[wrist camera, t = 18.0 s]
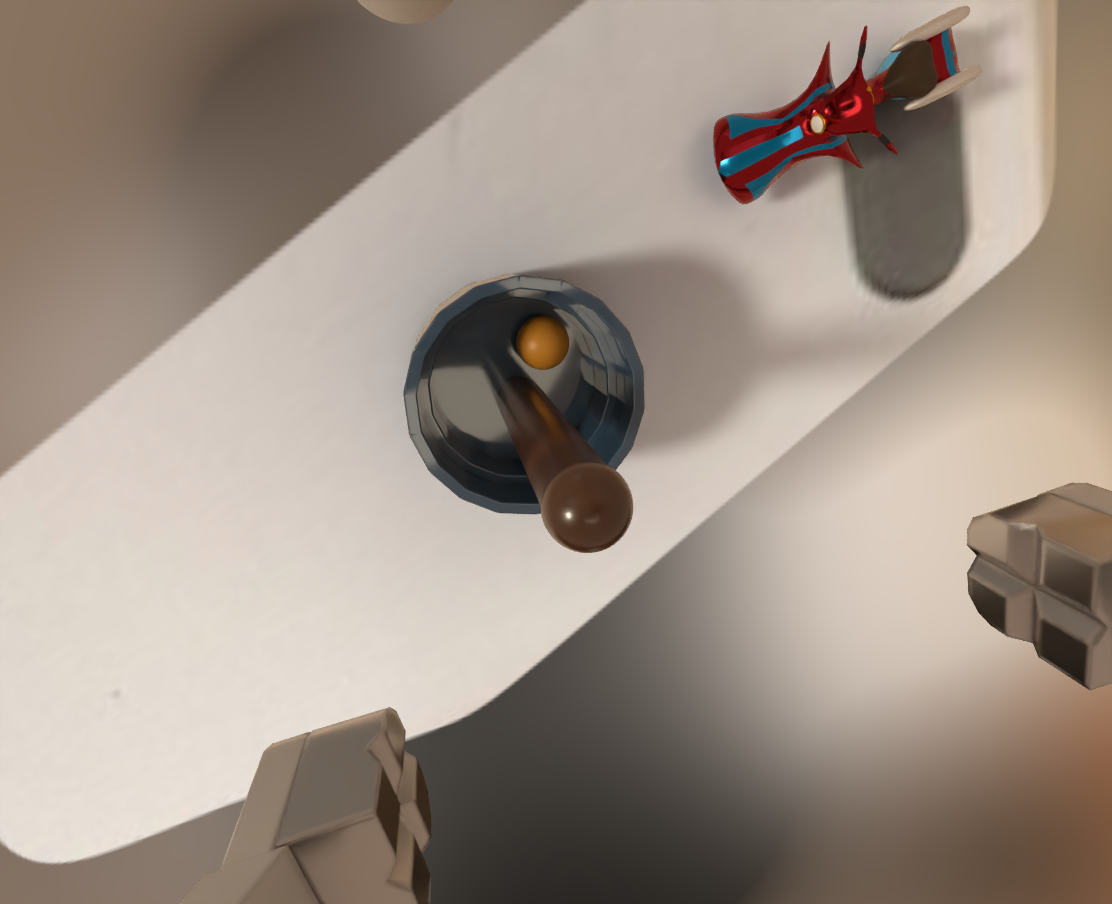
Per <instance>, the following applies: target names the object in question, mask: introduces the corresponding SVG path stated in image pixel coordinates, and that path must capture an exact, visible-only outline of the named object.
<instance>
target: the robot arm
mask: <svg viewBox="0 0 1112 904" xmlns="http://www.w3.org/2000/svg"><path fill="white" fill-rule="evenodd" d="M967 546H968V547H969V548H970V549H971V550H972V551H973V552H974V553H975V554H976V555H977V556H976V558H975V560H974V562H973V563H972V565H971V567H970V569H969V571H968V572H967V575H968V592H969V595H970V597H971V599H972V601H973V603H974V605H975V607H976V609H977V611H978V612H979V614H980V615H981V616H982V617H983V618H984V619H985V620H986V621H987V622H988V623H989V624H990V625H991V626H992V627H994V628H996V629H997V630H998V631H1000V632H1001V633H1003V634H1004V635H1006V636H1008V637H1011V638H1015V639H1019V640H1023V641H1028V642H1031V643H1033V644H1034V647H1035V649H1036V652H1037V654H1038V657H1039V658H1041V659H1042V660H1044V661H1045V662H1047V663H1049V664H1050V665H1052V666H1053V667H1055V668H1056V669H1058V670H1060V671H1061V672H1063V673H1064V674H1066V675H1067V676H1069V677H1070V678H1072V679H1073V680H1075V681H1076V682H1078V683H1079V684H1081V685H1082V686H1084V687H1086V688H1087V689H1089V690H1093V689H1096V688H1099V687H1102V686H1105V685H1108V684H1111V683H1112V491H1110V490H1107V489H1103V488H1101V487H1098V486H1095V485H1092V484H1088V483H1069V484H1067V485H1064V486H1061V487H1058V488H1055V489H1052V490H1050V491H1047V492H1044V493H1042V494H1039V495H1037V496H1036V497H1034V498H1031V499H1028V500H1025V501H1022V502H1019V503H1016V504H1013V505H1010V506H1007V507H1004V508H1000V509H997V510H995V511H991V512H988V513H985V514H982V515H979V516H976V517H973V518H972V520H971V523H970V525H969V527H968V529H967ZM404 746H405V729H404V727H403V725H402V722H401V720H400V718H399V716H398V714H397V711H395V710H394V709H392V708H391V707H389V708H386V709H382V710H379V711H376V712H373V713H369V714H366V715H363V716H359V717H356V718H353V719H349V720H346V721H343V722H339V723H336V724H333V725H330V726H326V727H323V728H320V729H316V730H313V731H312V732H308V733H304V734H301V735H298V736H295V737H292V738H288V739H285V740H282V741H279V742H276V743H273V744H271V745H270V746H269V747H268V748H267V749H266V750H265V751H264V752H263V754H262V757H261V759H260V762H259V765H258V768H257V770H256V773H255V776H254V779H253V781H252V784H251V787H250V789H249V792H248V795H247V798H246V800H245V803H244V806H243V808H242V811H241V814H240V817H239V820H238V822H237V825H236V828H235V830H234V833H233V836H232V839H231V841H230V844H229V847H228V849H227V852H226V855H225V858H224V860H223V863H222V866H221V868H218V869H215V870H213V871H210V872H207V873H206V874H205V875H204V876H203V877H202V878H201V879H200V880H199V882H198V883H197V884H196V885H195V886H194V887H193V888H192V889H191V890H190V892H189V893H188V894H187V895H186V896H185V897H184V898H183V899H182V900H181V901H180V903H179V904H430V876H431V874H430V871H429V869H428V867H427V864H426V862H425V860H424V857H423V855H422V853H423V851H424V849H425V848H426V846H427V844H428V843H429V841H430V839H431V813H430V805H429V799H428V791H427V787H426V784H425V780H424V777H423V773H422V770H421V768H420V765H419V763H418V760H417V758H415V757H414V756H412V755H410V754H408V753H406V752H405V751H404Z"/></svg>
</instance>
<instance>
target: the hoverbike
mask: <svg viewBox="0 0 1112 904" xmlns="http://www.w3.org/2000/svg"><path fill="white" fill-rule="evenodd" d="M969 12H970V8H969V7H968V6H962V7H958V8H956V9H953V10H951V11H949V12H947V13H945V14H943V15H941V16H939V17H937V18H935V19H933V20H931V21H929V22H927V23H926V24H924V25H922V26H920V27H918V28H916V29H915V30H913V31H911V32H909V33H908V34H906V35H905V36H903V37H902V38H900V39H899V40H898V41H897V42H896V43H895V44H894V45H893V46H892V47H891V48H890V52H893V53H891V54H890V55H889V56H888V57H887V58H886V59H885V60H884V62H883V63H882V65H881V67H880V69H879V72H878V75H876V76H874V77H872V78H870V79H868V80H867V81H865V79H864V77H863V73H862V68H861V67H862V59H863V56H864V52H865V47H866V40H867V26H865V27H864V30H863V33H862V36H861V40H860V46H859V52H858V59H857V63H856V67H855V68H854V70H853V71H852V73H851V74H850V76H849V77H848V79H847V80H846V81H845V82H843V83H842V84H841V85H840V86H839V87H838V88H837V89H835V86H834V83H833V79H832V74H831V65H830V42H828V44H827V46H826V49H825V52H824V55H823V57H822V60H821V63H820V65H819V68H818V70H817V72H816V74H815V77H814V78H813V80H812V81H811V83H810V85H809V86H808V88H807V89H806V90H805V91H804V92H803V93H802V94H801V95H800V96H799V97H798V98H797V99H795V100H794V101H792V102H791V103H789V104H787V105H785V106H783V107H780V108H777V109H774V110H771V111H768V112H762V113H737V114H730V115H727V116H725V117H722V118H721V119H719V120H718V121H717V122H716V123H715V126H714V157H715V163H716V167H717V170H718V173H719V176H720V178H721V180H722V182H723V184H724V185H725V187H726V188H727V190H728V191H729V192H730V194H731V195H732V196H733V197H734V198H735V199H736V200H737V201H738V202H739V203H741V204H748V203H751V202H753V201H755V200H756V199H758V198H759V197H760V196H761V195H763V194H764V192H765V191H766V190H767V189H768V188H769V187H770V186H771V184H772V183H773V182H774V181H775V180H776V179H777V178H779V177H780V176H781V175H782V174H783V173H785V172H786V171H787V170H789V169H791V168H792V167H794V166H795V165H797V164H799V163H801V162H803V161H805V160H808V159H811V158H813V157H819V156H832V157H838V158H840V159H843V160H845V161H848V162H850V163H852V164H854V165H856V166H857V167H859V168H862V169H863V166H862V164H861V163H860V161H859V160H858V158H857V156H856V154H855V152H854V151H853V149H852V147H851V144H850V142H849V139H848V135H847V134H853V133H859V132H865V133H871V134H873V135H875V136H876V137H877V138H878V139H879V140H880V141H881V142H882V143H883V144H884V145H885V146H886V147H887V148H888V149H889V150H890V151H892V152H893V153H895V154H898V151H897V150H896V148H895V147H894V145H893V144H892V143H891V142H890V141H889V140H888V139H887V138H886V137H885V136H884V135H882V134H881V133H880V132H879V131H878V130H877V127H876V124H875V119H874V106H875V105H877V104H879V103H882V102H885V101H887V100H890V99H891V100H902V99H911V100H910V101H909V102H908V103H907V104H906V105H905V107H904V110H914V109H917V108H919V107H922V106H925V105H927V104H929V103H931V102H933V101H935V100H937V99H939V98H941V97H943V96H945V95H947V94H949V93H951V92H953V91H955V90H957V89H958V88H960V87H962V86H964V85H965V84H967V83H969V82H971V81H972V80H974V79H975V78H976V77H977V76H978V75H979V74H980V73H981V67H980V66H972V67H969V68H967V69H964V70H962V71H960V70H959V65H958V59H957V52H956V47H955V43H954V39H953V35H952V30H951V27H952V26H954V25H956V24H957V23H959V22H961V21H962V20H963V19H965V18H966V17H967V16H968V15H969Z"/></svg>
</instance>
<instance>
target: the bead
mask: <svg viewBox="0 0 1112 904" xmlns="http://www.w3.org/2000/svg"><path fill="white" fill-rule="evenodd" d="M516 346H517V351H518V354H519V356H520V357H521V359H522V360H523V361H524V362H525V363H526V364H527V365H528V366H530V367H532V368H535V369H539V370H547V369H551V368H554V367H556V366H557V365H559V364H560V363H561V362H562V361H563V360H564V359H565V357H566V355H567V353H568V350H569V336H568V333H567V330H566V329H565V327H564V326H563V325H562V324H561V323H560V322H559V321H558V320H556V319H554V318H552V317H549V316H537V317H533V318H531V319H529V320H528V321H526V322H525V323H524V324H523V325H522V327H521V328H520V330H519V332H518V334H517V339H516Z"/></svg>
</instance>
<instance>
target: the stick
mask: <svg viewBox="0 0 1112 904" xmlns="http://www.w3.org/2000/svg"><path fill="white" fill-rule="evenodd" d="M497 404H498V407H499V410H500V412H501V415H502V417H503V419H504V422H505V424H506V426H507V429H508V431H509V433H510V436H511V438H512V440H513V443H514V445H515V447H516V450H517V452H518V454H519V457H520V459H521V461H522V464H523V466H524V468H525V471H526V473H527V475H528V478H529V480H530V482H531V485H532V487H533V489H534V492H535V494H536V496H537V499H538V501H539V503H540V506H541V514H542V519H543V522H544V525H545V527H546V529H547V530H548V532H549V533H550V535H551V536H552V537H553V538H554V539H555V540H556V541H557V542H558V543H559V544H561V545H562V546H564V547H566V548H568V549H570V550H573V551H576V552H581V553H593V552H598V551H602V550H605V549H607V548H609V547H611V546H612V545H614V544H615V543H616V542H617V541H619V540H620V539H621V537H622V536H623V535H624V534H625V532H626V531H627V529H628V527H629V525H630V522H631V519H632V514H633V499H632V495H631V491H630V489H629V487H628V485H627V483H626V481H625V480H624V478H623V477H622V476H621V475H620V474H619V473H618V472H617V471H616V470H614V469H613V468H612V467H610V466H608V465H606V463H605V462H604V461H603V460H602V459H601V458H600V456H599V455H598V454H597V453H596V452H595V451H594V449H593V448H592V447H591V446H590V445H589V444H588V443H587V441H586V440H585V439H584V438H583V437H582V436H581V434H580V433H579V432H578V431H577V430H576V429H575V427H574V426H573V425H572V424H571V423H570V422H569V421H568V419H567V418H566V417H565V416H564V415H563V414H562V412H561V411H560V410H559V409H558V408H557V407H556V405H555V404H554V403H553V402H552V401H551V400H550V399H549V397H548V396H547V395H546V394H545V393H544V392H543V390H542V389H541V388H540V387H539V386H538V385H537V384H536V383H535V382H534V381H533V380H531V379H529V378H526V377H515V378H512V379H509V380H508V381H506V382H505V383H504V384H503V385H502V386H501V388H500V390H499V392H498V396H497Z"/></svg>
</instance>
